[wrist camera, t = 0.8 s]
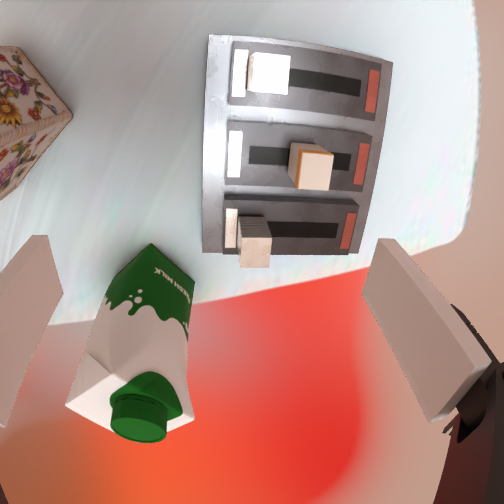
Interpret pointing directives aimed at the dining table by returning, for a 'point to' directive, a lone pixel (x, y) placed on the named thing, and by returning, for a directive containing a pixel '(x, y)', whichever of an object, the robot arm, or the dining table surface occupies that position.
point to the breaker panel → (288, 146)
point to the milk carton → (138, 353)
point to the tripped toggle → (310, 166)
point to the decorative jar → (25, 117)
